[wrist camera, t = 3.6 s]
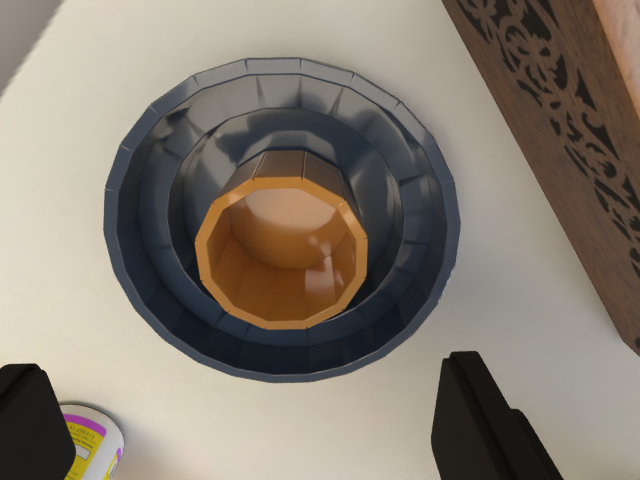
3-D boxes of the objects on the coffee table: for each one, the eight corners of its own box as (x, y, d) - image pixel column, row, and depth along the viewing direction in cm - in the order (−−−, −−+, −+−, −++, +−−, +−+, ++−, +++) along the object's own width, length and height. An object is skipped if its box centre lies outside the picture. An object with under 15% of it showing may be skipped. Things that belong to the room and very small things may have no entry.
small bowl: (356, 146, 20) (370, 175, 15) (353, 270, 23) (364, 328, 18) (215, 149, 20) (183, 178, 15) (230, 273, 23) (208, 331, 18)
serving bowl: (444, 55, 19) (485, 54, 15) (416, 323, 26) (439, 379, 21) (118, 60, 19) (58, 60, 15) (172, 328, 26) (142, 386, 21)
